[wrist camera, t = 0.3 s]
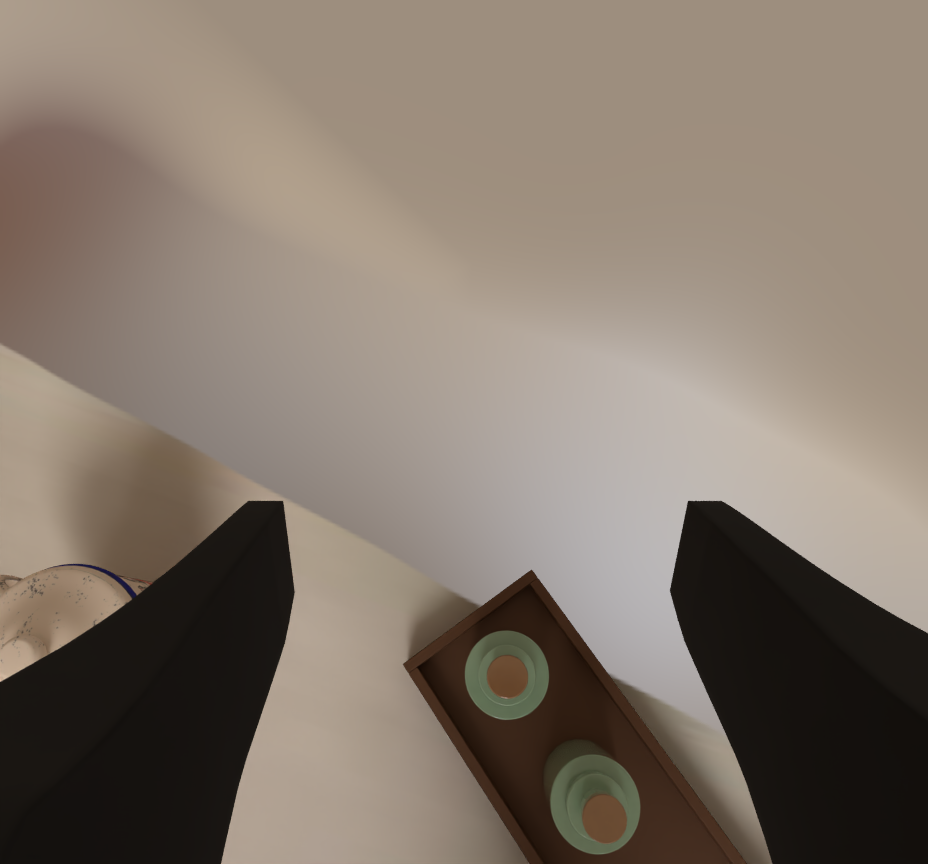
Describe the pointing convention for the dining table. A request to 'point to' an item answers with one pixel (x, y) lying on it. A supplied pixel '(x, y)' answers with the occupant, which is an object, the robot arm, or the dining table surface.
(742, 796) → the dining table surface
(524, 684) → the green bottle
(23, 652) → the cream enamel lidded pot
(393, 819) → the dining table surface
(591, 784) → the green bottle mid
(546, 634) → the tray
